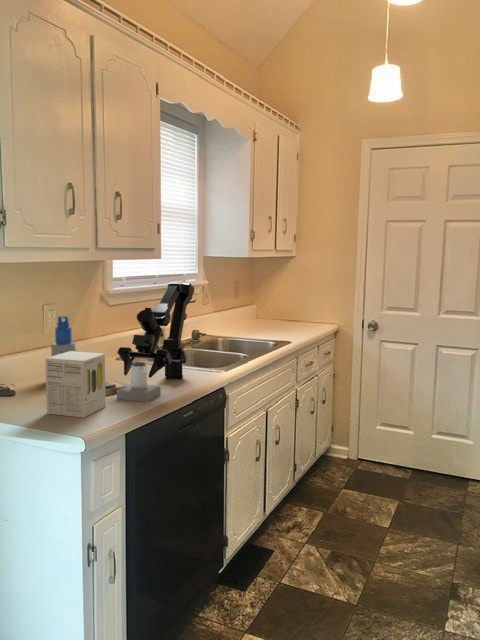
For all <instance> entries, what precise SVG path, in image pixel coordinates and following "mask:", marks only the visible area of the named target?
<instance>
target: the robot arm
mask: <svg viewBox="0 0 480 640" xmlns="http://www.w3.org/2000/svg"><path fill="white" fill-rule="evenodd" d="M194 293H195V287H194V285H192V283H191V282H189V283H188V282H185V283H184V282H174V281H173V282H169V283H168V284H167V288H166V290H165V292H164V294H163V296H162V298H161V300H160V302H159V304H158V305H156V306H153V307H145V308H144V309H143V310H140V311H139V312H138V313H137V314H136V320H137V322H138V324H139V326H140V327H141V329H142V330H143V331H144V334H143V335H142V334H134V335H133V338H132V345H134V346H135V350H137V351H135V350H132V348H131V347H128V346H120V347H119V348H118V350H117V352H116V353H117V354H118V356H119V358H120V359H121V361H122V362H123V374H124V376H127V375H129V374H128V373H129V372H130V371H131V366H132V363H134V362H133V361H135V358H137V359H138V358H141V359H147V360H148V359H149V360H153V363H152V364H151V365H152V366H151V368H150V370H149V373H148V378H152V377H153V376H155V374H157V373H158V372H159V371H160V370H161V369H162V368H163V369H164V377H165V379H167V380H174V379H175V380H182V379H183V377H184V374H183V364H187V359H188V356H187V354H186V352H185V350H184V347H185V346H184V343H183V342H182V335H183V328H184V323H185V317H186V312H187V311H186V310H187V306H188V304H189V303H190V302H191V301H192V299H193V296H194V295H195V294H194ZM172 309H173V313H172V316H171V311H172ZM170 322H171V323H170ZM169 324H170V329H169V333H168V334H169V335H168V337H167V338H164V339H163V341H162V342H163V343H162V347H161V348H160V349H159V347H160V346H159V342H160V339H161V338H163V337H164V333H163V328H162V327H168V326H169Z"/></svg>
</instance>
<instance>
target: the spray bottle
mask: <svg viewBox="0 0 480 640" xmlns="http://www.w3.org/2000/svg"><path fill="white" fill-rule="evenodd" d="M54 333H55V334H54V336H55V341H54V342H53V343H51V346H50V347H51V350H50V351H51V357H52V356H55V355H58V354H62V353H65V352H69V351H77V345H76V342H74V341H72V339H73V337H72V334H73V333H72V327H71V326H70V322H69V316H68V315H65V316H60V315H58V316H57V323H56V327H54Z"/></svg>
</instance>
